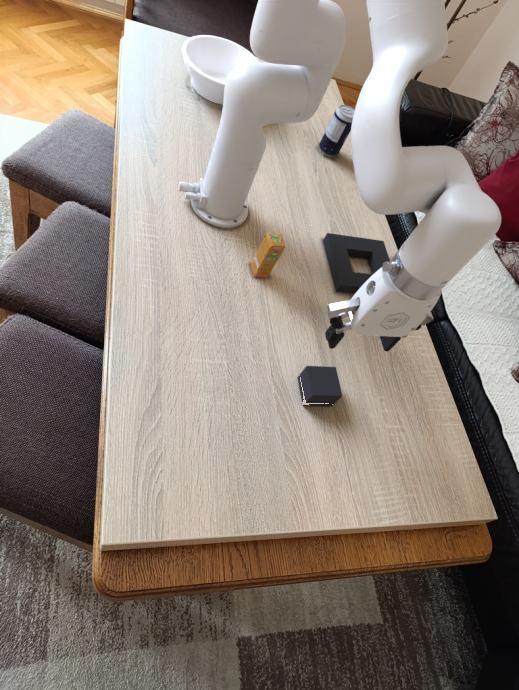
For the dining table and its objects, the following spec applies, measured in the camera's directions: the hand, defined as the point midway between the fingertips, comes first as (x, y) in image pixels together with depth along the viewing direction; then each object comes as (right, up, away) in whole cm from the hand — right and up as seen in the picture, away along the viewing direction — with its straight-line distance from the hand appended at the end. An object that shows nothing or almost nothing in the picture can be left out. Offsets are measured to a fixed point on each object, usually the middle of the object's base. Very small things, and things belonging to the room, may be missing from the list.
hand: (356, 342), depth 79 cm
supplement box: (-15, +14, +24) cm, 32 cm away
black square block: (-5, -9, +12) cm, 16 cm away
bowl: (-27, +66, +52) cm, 88 cm away
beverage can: (+3, +51, +54) cm, 74 cm away
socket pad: (+7, +17, +33) cm, 38 cm away
